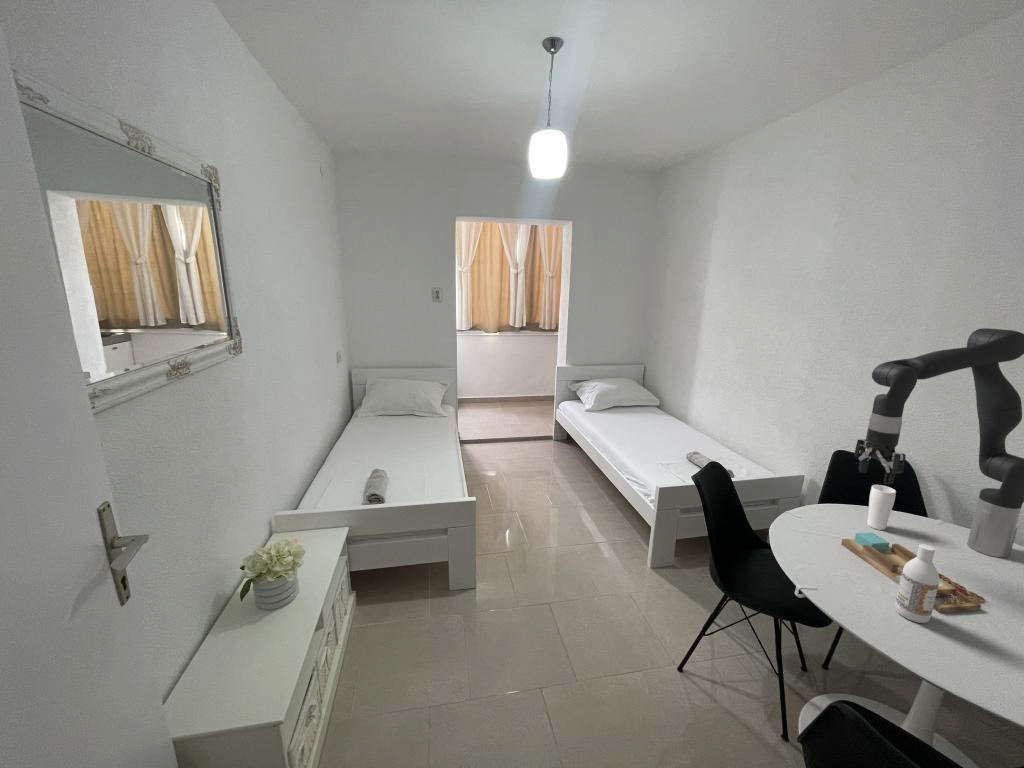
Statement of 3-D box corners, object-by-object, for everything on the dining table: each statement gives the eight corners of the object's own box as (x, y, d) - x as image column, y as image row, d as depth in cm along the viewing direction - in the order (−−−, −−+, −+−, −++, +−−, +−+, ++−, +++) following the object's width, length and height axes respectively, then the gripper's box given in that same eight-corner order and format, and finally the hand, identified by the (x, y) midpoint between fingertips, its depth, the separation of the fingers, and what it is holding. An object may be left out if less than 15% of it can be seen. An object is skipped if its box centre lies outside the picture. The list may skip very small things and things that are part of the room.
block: (871, 540, 144) (872, 532, 143) (887, 551, 138) (889, 542, 137) (854, 541, 143) (855, 533, 143) (870, 551, 138) (872, 543, 137)
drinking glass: (879, 522, 159) (886, 484, 156) (893, 532, 152) (901, 493, 149) (859, 521, 160) (866, 484, 156) (872, 531, 153) (880, 492, 150)
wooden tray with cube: (874, 542, 146) (876, 530, 145) (979, 610, 115) (983, 595, 114) (841, 544, 145) (843, 532, 144) (939, 612, 114) (942, 598, 113)
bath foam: (916, 626, 110) (932, 556, 105) (887, 607, 116) (901, 541, 112) (936, 621, 111) (953, 553, 107) (907, 603, 118) (922, 537, 114)
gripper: (918, 435, 125) (908, 487, 128) (874, 421, 139) (865, 468, 142) (895, 436, 124) (885, 488, 128) (852, 422, 138) (844, 468, 141)
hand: (874, 477), depth 135 cm, fingers open, 8 cm apart
